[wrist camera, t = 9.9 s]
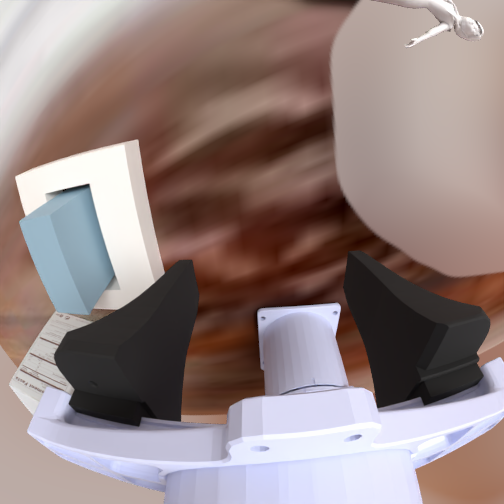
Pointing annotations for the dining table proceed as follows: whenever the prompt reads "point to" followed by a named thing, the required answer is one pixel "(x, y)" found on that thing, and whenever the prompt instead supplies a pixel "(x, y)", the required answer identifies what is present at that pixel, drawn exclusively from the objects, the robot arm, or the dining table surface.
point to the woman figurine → (442, 19)
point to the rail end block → (69, 250)
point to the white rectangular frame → (107, 212)
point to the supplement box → (44, 362)
